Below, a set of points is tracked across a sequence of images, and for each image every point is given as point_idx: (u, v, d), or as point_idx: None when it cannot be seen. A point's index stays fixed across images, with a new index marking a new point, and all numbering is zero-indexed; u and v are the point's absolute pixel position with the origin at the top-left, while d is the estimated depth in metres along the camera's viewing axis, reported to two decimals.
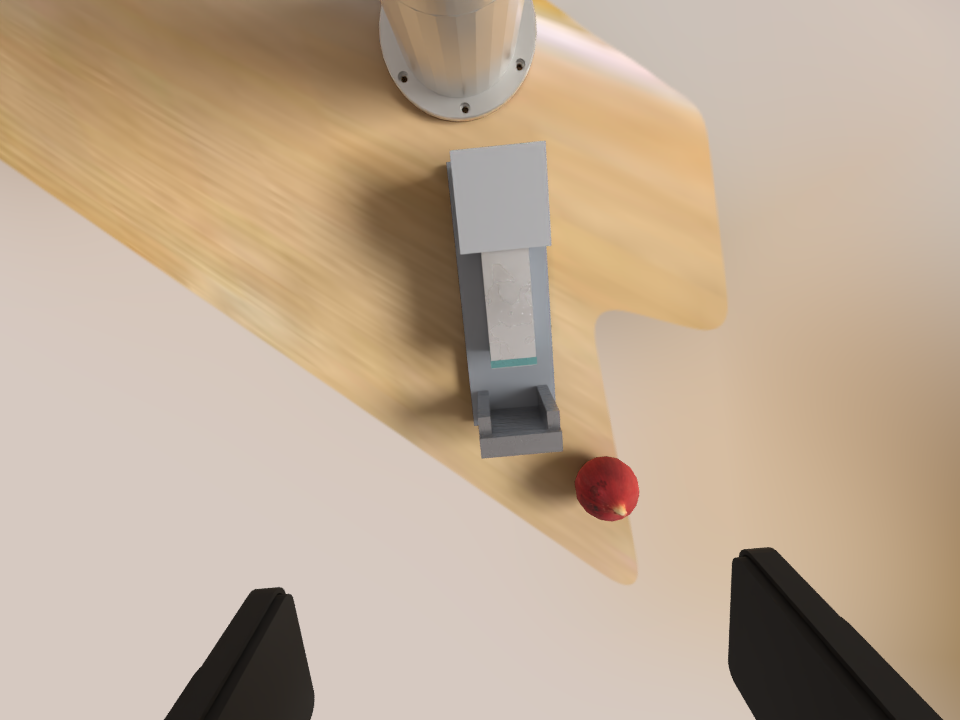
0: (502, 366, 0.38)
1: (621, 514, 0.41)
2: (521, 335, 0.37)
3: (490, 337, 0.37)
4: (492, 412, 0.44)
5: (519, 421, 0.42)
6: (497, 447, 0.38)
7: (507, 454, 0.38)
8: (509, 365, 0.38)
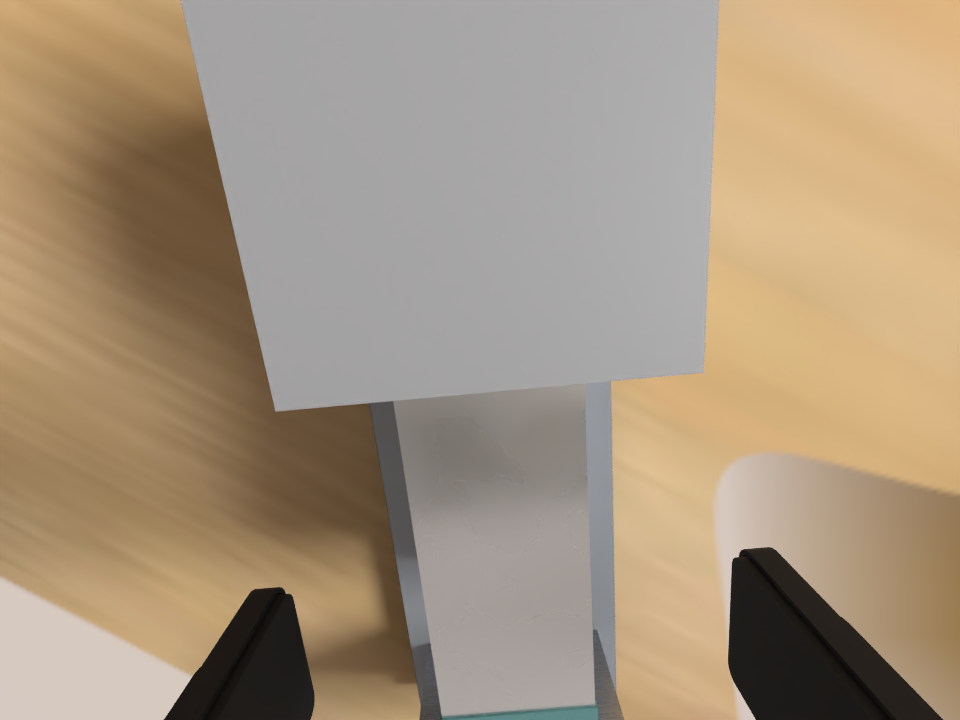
0: None
1: None
2: (547, 647, 0.10)
3: (437, 653, 0.11)
4: None
5: None
6: None
7: None
8: None
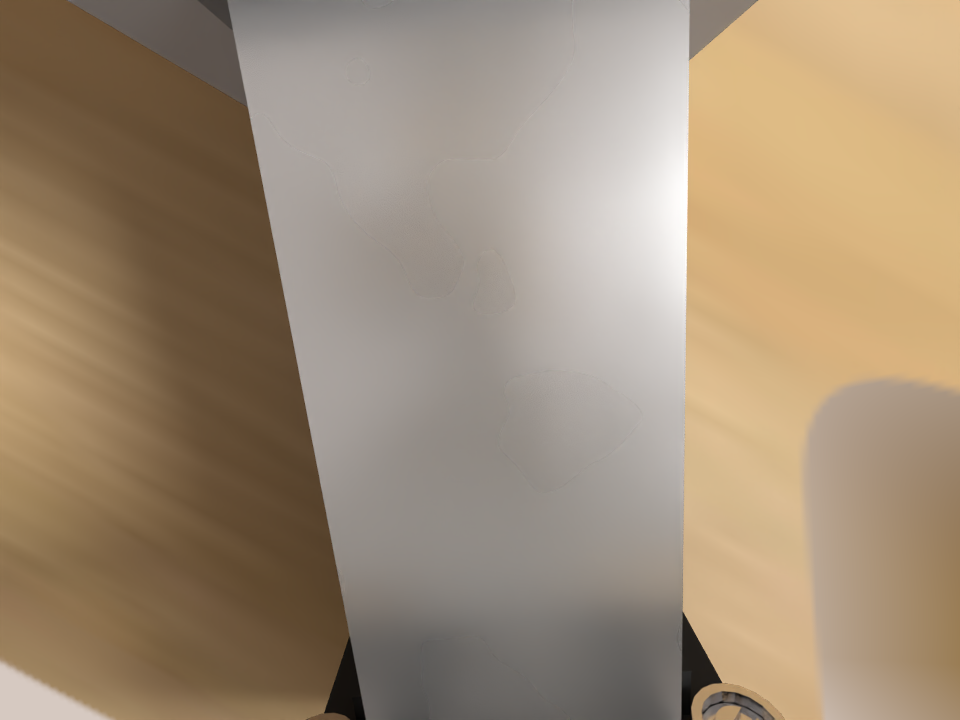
0: None
1: None
2: None
3: None
4: None
5: None
6: None
7: None
8: None
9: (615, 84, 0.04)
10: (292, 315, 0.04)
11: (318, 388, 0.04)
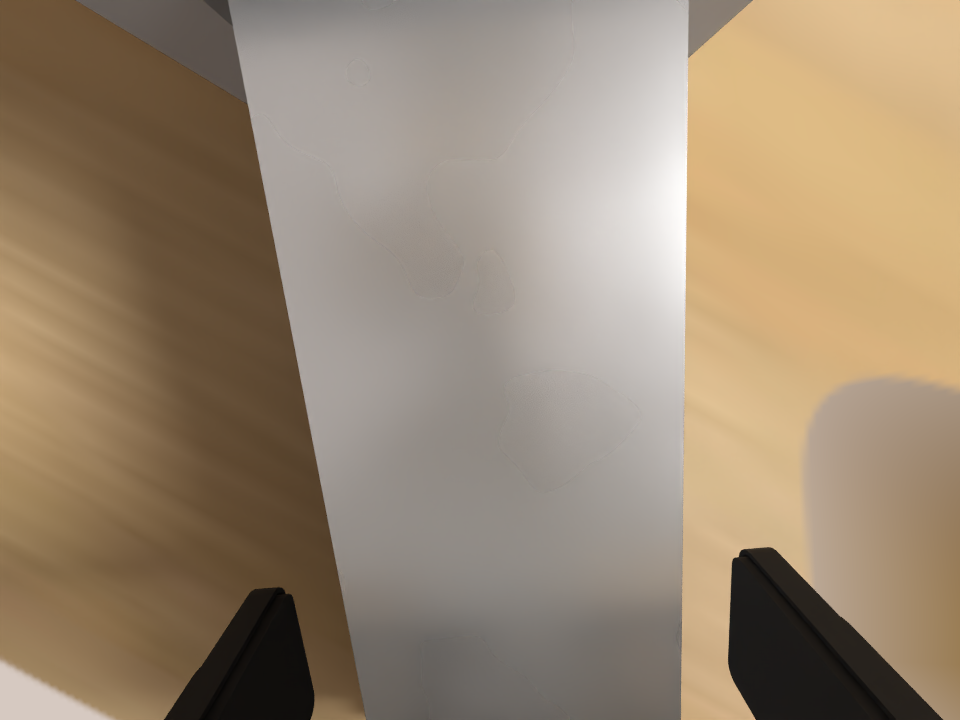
0: None
1: None
2: None
3: None
4: None
5: None
6: None
7: None
8: None
9: (614, 85, 0.04)
10: (292, 315, 0.04)
11: (318, 388, 0.04)
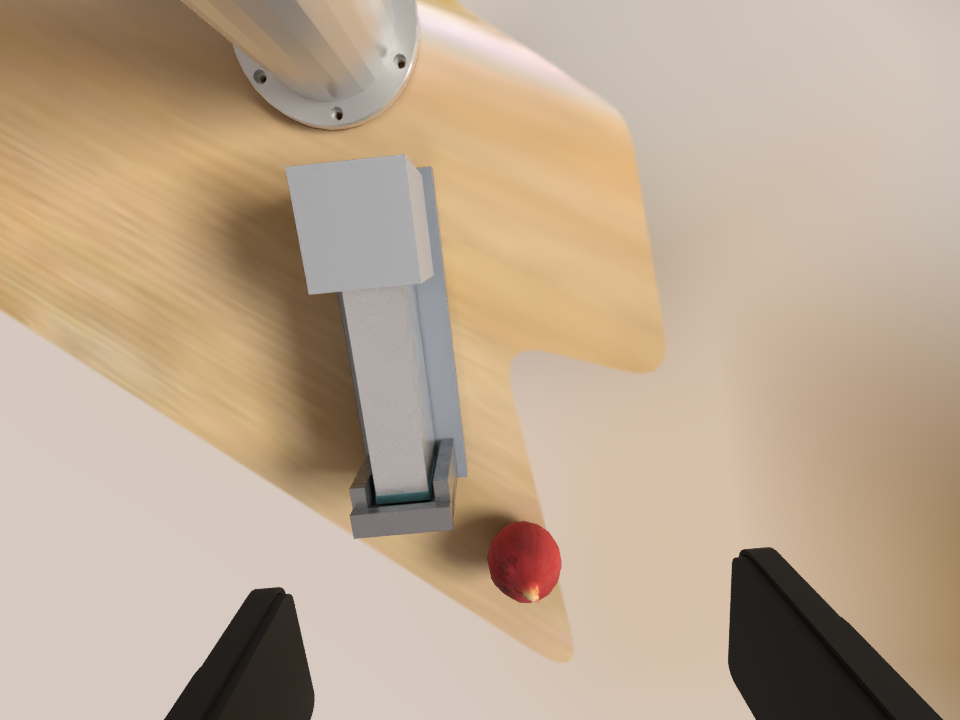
0: (389, 501, 0.32)
1: (532, 600, 0.34)
2: (410, 467, 0.32)
3: (373, 470, 0.32)
4: None
5: None
6: (372, 525, 0.31)
7: (385, 534, 0.31)
8: (398, 500, 0.32)
9: (392, 304, 0.29)
10: (349, 335, 0.30)
11: (353, 345, 0.30)
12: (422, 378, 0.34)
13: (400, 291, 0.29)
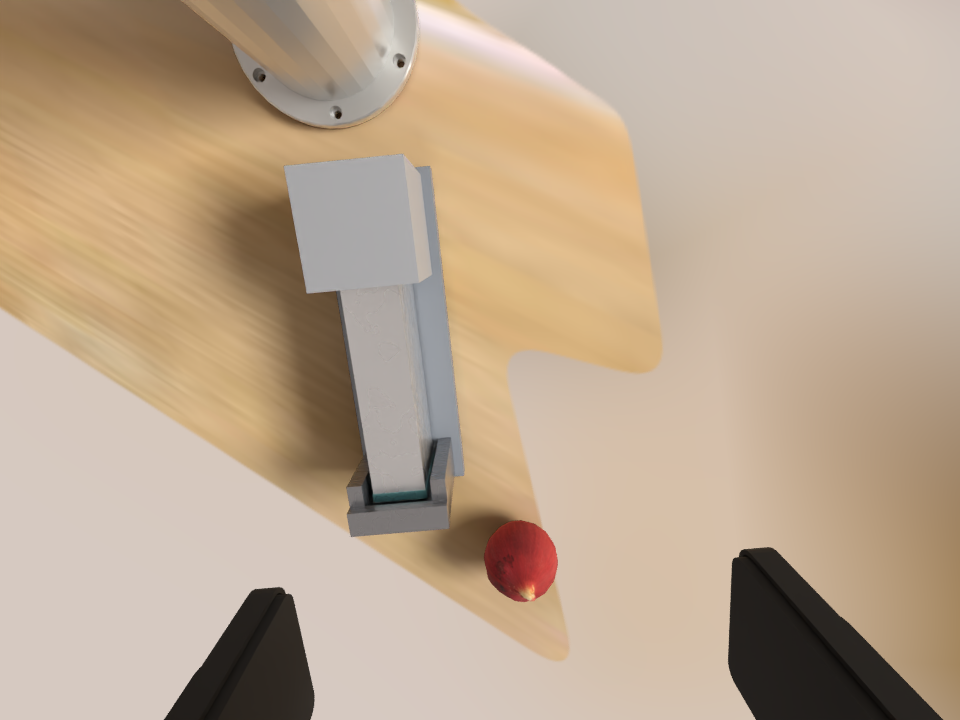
0: (386, 500, 0.32)
1: (528, 599, 0.34)
2: (407, 466, 0.32)
3: (371, 468, 0.32)
4: None
5: None
6: (369, 523, 0.31)
7: (382, 532, 0.31)
8: (395, 499, 0.32)
9: (390, 304, 0.29)
10: (347, 333, 0.30)
11: (351, 344, 0.30)
12: (420, 377, 0.34)
13: (398, 290, 0.29)
